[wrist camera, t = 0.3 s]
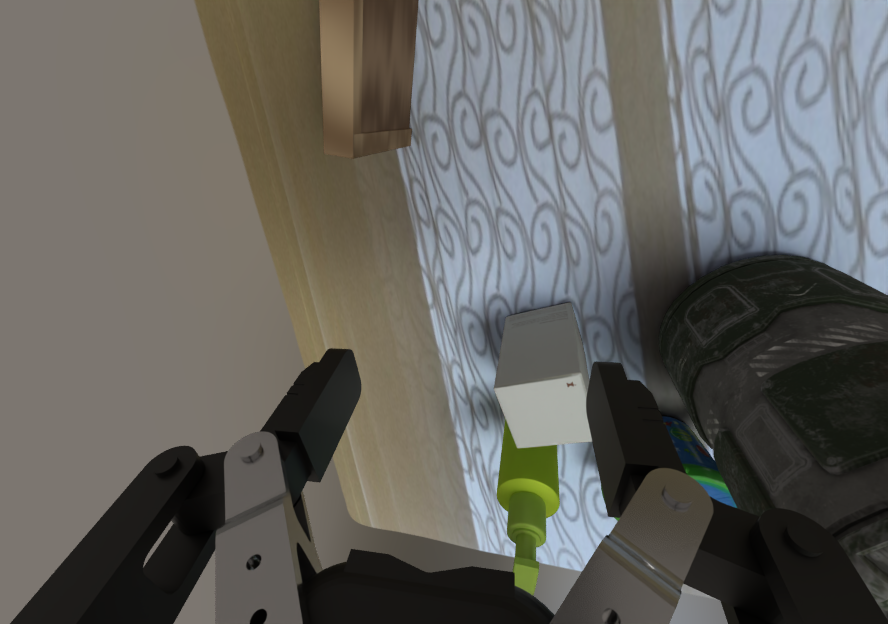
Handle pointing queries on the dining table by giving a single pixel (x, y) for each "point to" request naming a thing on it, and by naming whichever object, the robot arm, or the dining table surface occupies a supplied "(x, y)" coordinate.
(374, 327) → the dining table surface
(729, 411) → the canister
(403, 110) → the gate
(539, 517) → the soap dispenser
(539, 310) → the supplement box
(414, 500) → the dining table surface
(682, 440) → the snack cup
